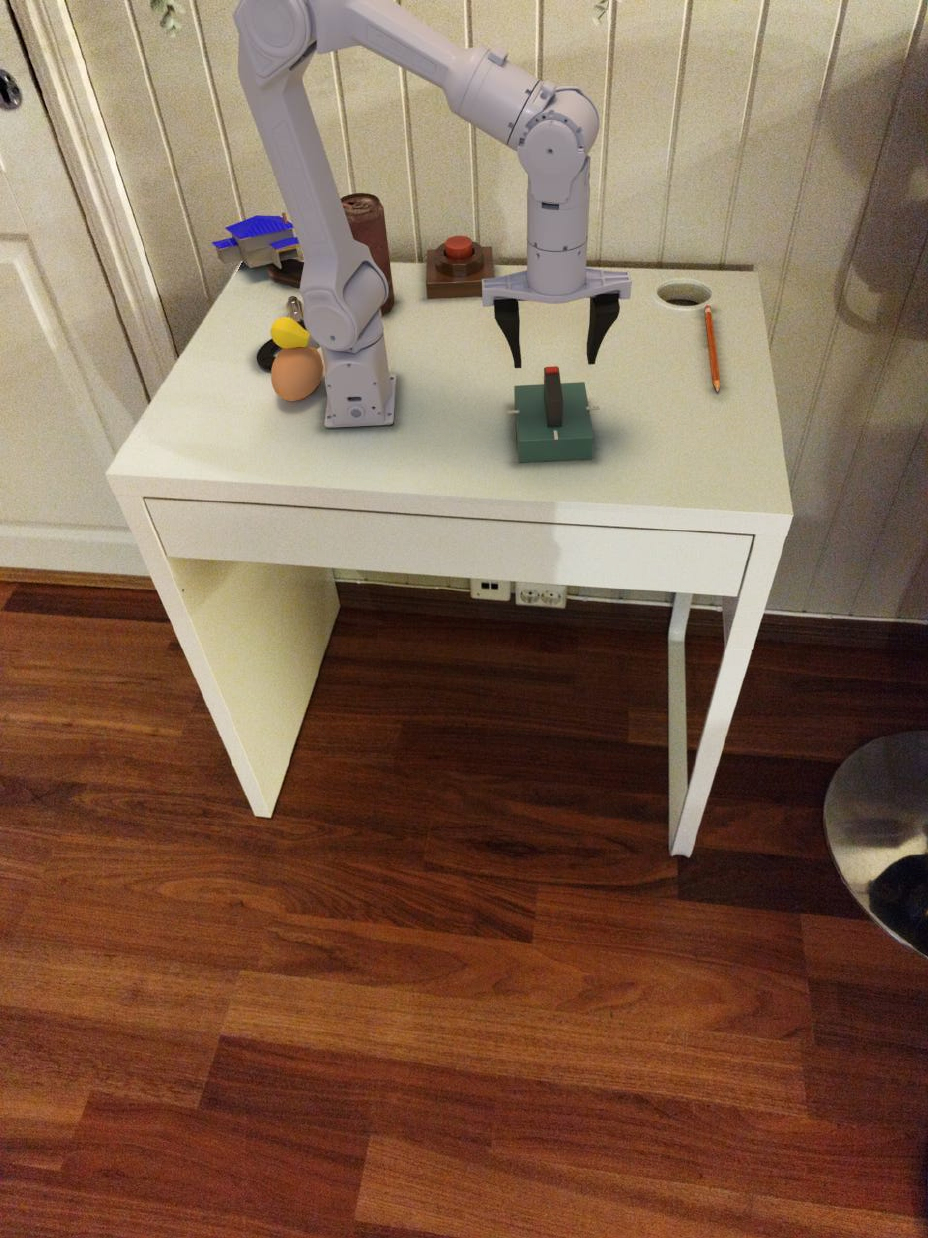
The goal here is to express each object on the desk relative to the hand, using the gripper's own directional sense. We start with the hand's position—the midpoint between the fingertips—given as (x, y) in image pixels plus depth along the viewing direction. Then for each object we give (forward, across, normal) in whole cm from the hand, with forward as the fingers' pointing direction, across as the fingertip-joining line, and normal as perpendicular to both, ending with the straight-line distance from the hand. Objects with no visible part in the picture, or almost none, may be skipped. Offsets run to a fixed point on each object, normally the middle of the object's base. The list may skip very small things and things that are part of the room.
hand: (554, 360), depth 99 cm
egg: (+6, +28, -14) cm, 32 cm away
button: (+6, +10, -34) cm, 36 cm away
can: (+10, +22, -28) cm, 37 cm away
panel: (+9, 0, 0) cm, 9 cm away
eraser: (+7, +31, -36) cm, 48 cm away
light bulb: (+4, +30, -10) cm, 31 cm away
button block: (+9, +10, -34) cm, 37 cm away
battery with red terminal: (+6, 0, 0) cm, 6 cm away
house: (+8, +37, -41) cm, 55 cm away
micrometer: (+8, +33, -21) cm, 40 cm away
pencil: (+9, -20, -14) cm, 27 cm away
